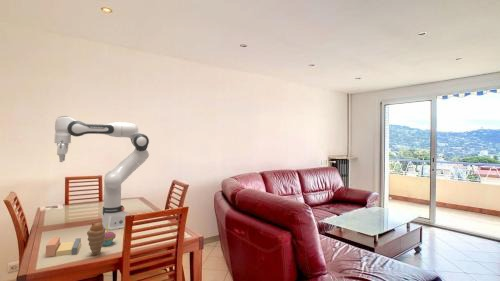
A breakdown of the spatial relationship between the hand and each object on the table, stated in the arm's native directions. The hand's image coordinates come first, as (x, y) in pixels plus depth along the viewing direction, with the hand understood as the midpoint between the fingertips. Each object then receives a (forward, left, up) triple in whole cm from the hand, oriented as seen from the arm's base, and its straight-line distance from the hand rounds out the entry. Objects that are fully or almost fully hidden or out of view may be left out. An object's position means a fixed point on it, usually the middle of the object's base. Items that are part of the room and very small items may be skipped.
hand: (62, 161), depth 175 cm
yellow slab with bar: (-10, +36, -47) cm, 59 cm away
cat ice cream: (-24, +47, -47) cm, 70 cm away
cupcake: (-29, +34, -47) cm, 65 cm away
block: (-3, +36, -47) cm, 59 cm away
